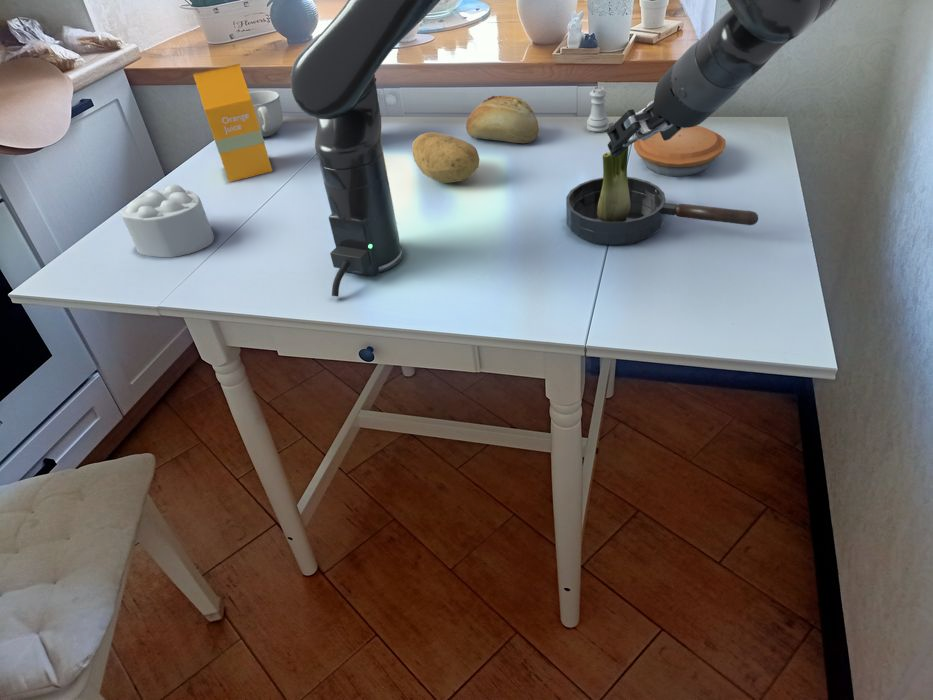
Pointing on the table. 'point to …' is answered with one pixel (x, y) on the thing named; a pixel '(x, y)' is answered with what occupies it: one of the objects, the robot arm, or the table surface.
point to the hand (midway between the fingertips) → (638, 142)
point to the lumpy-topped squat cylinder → (167, 222)
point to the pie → (681, 151)
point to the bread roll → (503, 120)
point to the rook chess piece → (598, 111)
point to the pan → (633, 229)
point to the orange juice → (233, 122)
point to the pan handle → (711, 213)
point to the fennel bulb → (614, 188)
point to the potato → (445, 157)
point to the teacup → (267, 111)
